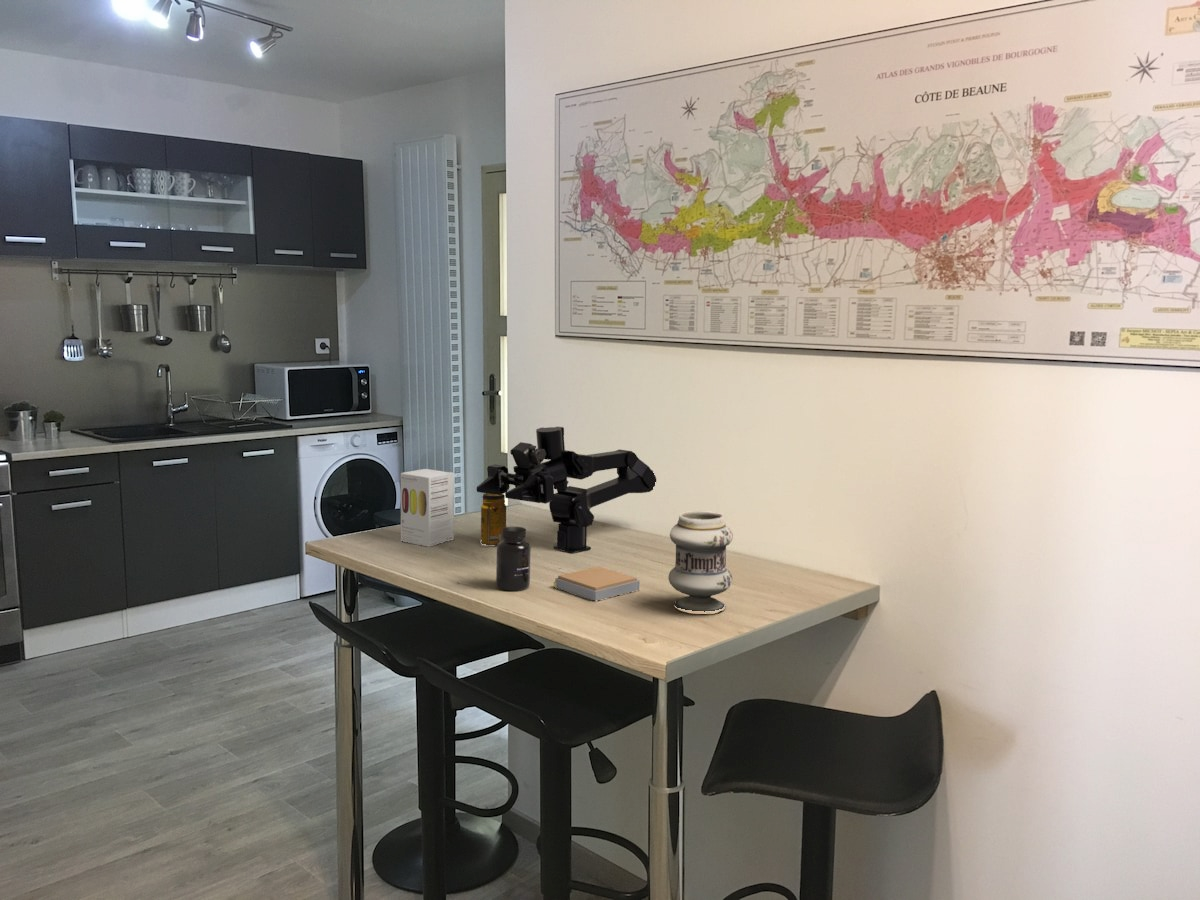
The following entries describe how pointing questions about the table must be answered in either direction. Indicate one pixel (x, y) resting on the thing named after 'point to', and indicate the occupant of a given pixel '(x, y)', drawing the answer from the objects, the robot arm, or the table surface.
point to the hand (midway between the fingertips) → (491, 492)
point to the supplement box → (427, 507)
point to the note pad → (596, 583)
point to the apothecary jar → (700, 560)
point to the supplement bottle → (513, 560)
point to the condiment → (492, 518)
